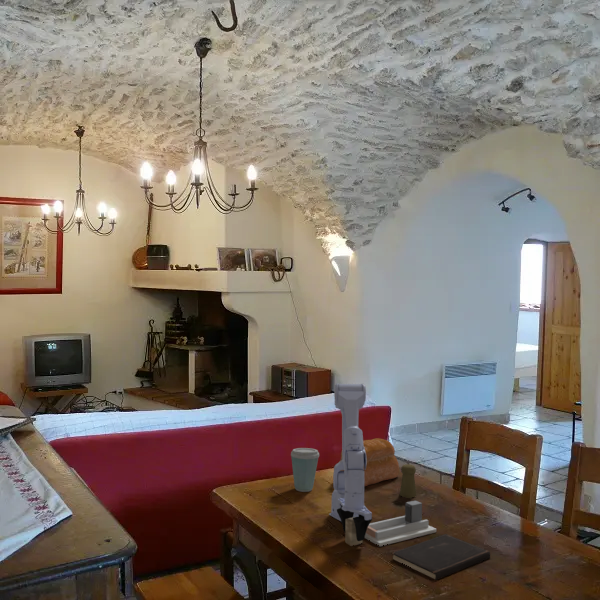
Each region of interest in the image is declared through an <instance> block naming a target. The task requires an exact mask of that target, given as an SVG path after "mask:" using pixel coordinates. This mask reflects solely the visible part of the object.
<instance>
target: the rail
mask: <svg viewBox="0 0 600 600" xmlns="http://www.w3.org/2000/svg"><path fill="white" fill-rule="evenodd" d="M429 523H430V522H429V520H428V519H423V502H420V501H418V500H411V501H407V502H405V506H404V515H402V516H401V515H400V516H396V517H393V518H392V517H391V518H388V519H384V520H379V521H376V522H370V524H369V526H368V528H367V531H366V534H365V538H364V539H366V540H367V541H369V540H370V541H369V542H371V543H373V544H375V545H376V544H377V546H378V545H379V546H378V547H383V545H384V546H388V545H391V544H395V543H400V542H403V541H406V540H411V539H414V538H417V537H423V536H426V535H431V534H435V533H437V528H435V527H433V526H432V525H429ZM387 544H388V545H387Z"/></svg>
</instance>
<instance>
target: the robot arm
mask: <svg viewBox="0 0 600 600" xmlns="http://www.w3.org/2000/svg"><path fill="white" fill-rule="evenodd" d="M333 393H334V395H333V396H334V408H336V409H338V410H340V412H341V417H342V418H341V436H342V437H341V442H342V443H341V449H342V450H341V452H342V460H341V459H340V460H341V461H340V460H339V462H338V463H336V464H335V465H334V467H333V473H332V474H333V476H332V480H333V481H332V483H333V485H332V486H333V489H334V490H333V491H332V493H331V510H330V513H328V515H329V516H331V517H333V519H335V520H338V521H340V522H341V526H342V529H343V530H342V531H343V533H344V534H345V528H346V519H348V518H353V517H354V518H353V521H354V523H355V527H356V538H357V541H362V542H363V541H364V540H365V539H366V538H365V534H366V531H367V528H368V526H369V524H370V523H372V521H373V513H372V511H370V510H369V509H368V508H367V507H366V505H365V487H364V469H365V470H366V465H367V458H366V452H365V447H364V445H363V441H364V436H363V430H362V429H361V428H360V427H359V416H360V415H359V412H360V409H362V408H363V407H364V406H365V403H366V400H367V399H366V397H367V390H366V385H365V384H364V383H337V382H336V384H334V392H333ZM363 467H364V469H363ZM340 470H344V471H340Z"/></svg>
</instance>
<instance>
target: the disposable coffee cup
mask: <svg viewBox="0 0 600 600" xmlns="http://www.w3.org/2000/svg"><path fill="white" fill-rule="evenodd" d="M290 457H291V465H292V467H291V468H292V477H293V485H294V488H295V491H298V492H303V493H306V492H307V493H308V492H311V491H312V490H313V488H314V483H315V477H316V473H317V468H318V467H317V466H318V461H319V457H320V452H319V450H318V449H315V448H312V447H310V448H308V447H297V448H293V449H292V450H291V452H290Z"/></svg>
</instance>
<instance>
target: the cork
mask: <svg viewBox="0 0 600 600" xmlns="http://www.w3.org/2000/svg"><path fill="white" fill-rule="evenodd" d="M416 470H417V469H416V466H415V465H413V464H410V463H409V464H408V463H407V464H403V465H401V467H400V471H401V474H402V475H401V482H400V490H399V496H400V497H401V496H402V497H401V498H404V497H406V499H413V498H412V497H414V498H416V497H417V496H416V495H417V488H416V481H415V480H416V479H415V474H416ZM415 496H416V497H415Z"/></svg>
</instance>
